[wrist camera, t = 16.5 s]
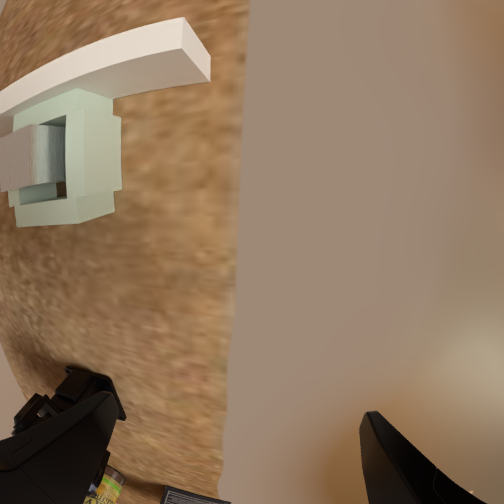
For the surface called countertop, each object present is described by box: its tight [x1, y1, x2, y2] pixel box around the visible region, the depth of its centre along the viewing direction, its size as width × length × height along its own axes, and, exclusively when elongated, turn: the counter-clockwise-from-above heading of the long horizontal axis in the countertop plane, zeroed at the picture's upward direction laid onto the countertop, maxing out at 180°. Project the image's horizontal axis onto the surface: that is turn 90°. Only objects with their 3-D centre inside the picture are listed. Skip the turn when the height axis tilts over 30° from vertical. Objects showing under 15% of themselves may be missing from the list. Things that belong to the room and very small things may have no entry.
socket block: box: [8, 88, 122, 227], centre depth 16 cm, size 9×9×4 cm
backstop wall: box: [0, 17, 211, 138], centre depth 14 cm, size 2×22×6 cm, turn 91°
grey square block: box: [0, 124, 66, 192], centre depth 15 cm, size 4×4×7 cm
